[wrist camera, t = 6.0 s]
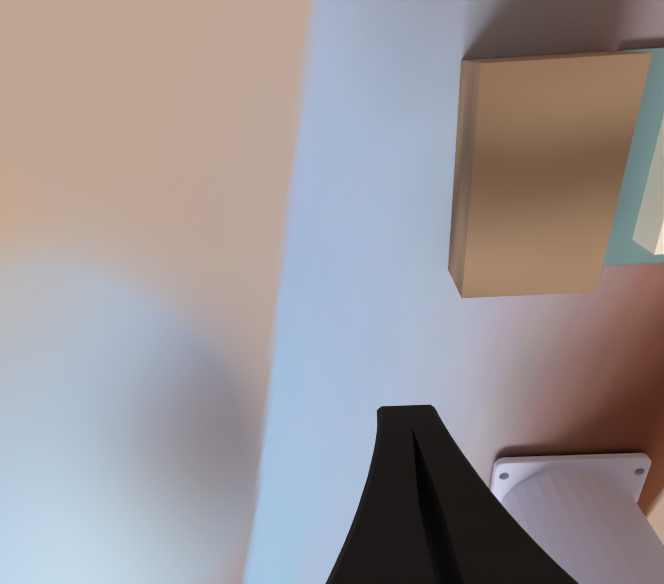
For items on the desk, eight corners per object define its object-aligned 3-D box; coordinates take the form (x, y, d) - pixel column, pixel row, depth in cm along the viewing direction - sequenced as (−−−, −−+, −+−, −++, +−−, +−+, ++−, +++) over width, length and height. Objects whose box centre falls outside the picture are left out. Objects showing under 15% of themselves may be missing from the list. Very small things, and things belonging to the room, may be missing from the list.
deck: (568, 263, 20) (596, 292, 18) (448, 269, 20) (461, 298, 18) (609, 50, 16) (652, 53, 14) (461, 60, 16) (481, 63, 14)
